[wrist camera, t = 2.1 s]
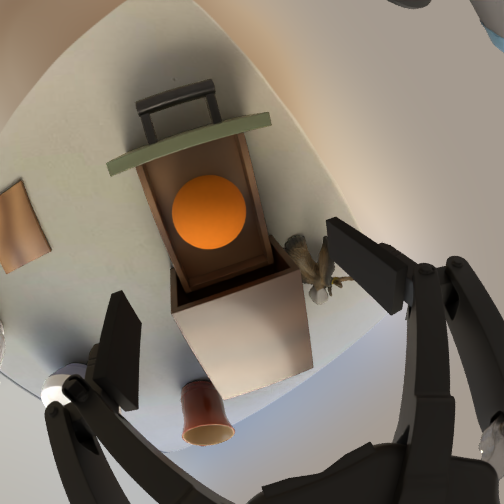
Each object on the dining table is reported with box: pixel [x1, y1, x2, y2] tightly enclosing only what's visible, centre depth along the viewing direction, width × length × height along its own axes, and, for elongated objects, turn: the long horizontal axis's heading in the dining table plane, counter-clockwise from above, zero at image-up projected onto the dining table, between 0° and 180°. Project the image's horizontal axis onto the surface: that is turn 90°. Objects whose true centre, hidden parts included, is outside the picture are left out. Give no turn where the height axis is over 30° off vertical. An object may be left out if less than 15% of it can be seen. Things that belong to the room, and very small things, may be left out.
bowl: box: [41, 363, 121, 414], centre depth 34 cm, size 14×14×8 cm
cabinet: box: [170, 235, 313, 400], centre depth 34 cm, size 18×14×9 cm
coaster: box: [0, 181, 51, 274], centre depth 24 cm, size 10×10×1 cm
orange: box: [172, 175, 246, 249], centre depth 26 cm, size 7×7×7 cm
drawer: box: [106, 79, 274, 293], centre depth 26 cm, size 22×14×9 cm, turn 13°
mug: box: [181, 381, 235, 446], centre depth 41 cm, size 12×9×10 cm
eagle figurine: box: [284, 236, 354, 304], centre depth 36 cm, size 8×7×9 cm
